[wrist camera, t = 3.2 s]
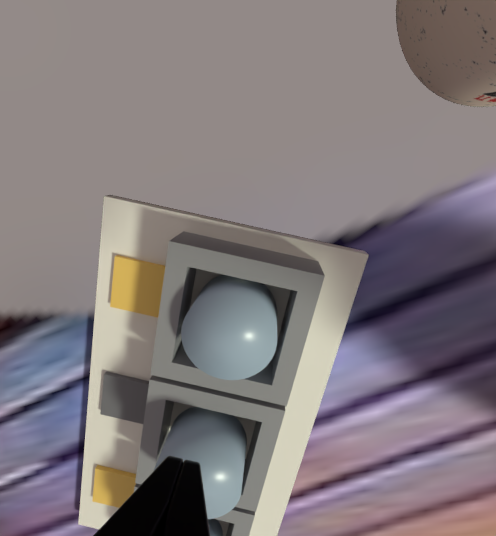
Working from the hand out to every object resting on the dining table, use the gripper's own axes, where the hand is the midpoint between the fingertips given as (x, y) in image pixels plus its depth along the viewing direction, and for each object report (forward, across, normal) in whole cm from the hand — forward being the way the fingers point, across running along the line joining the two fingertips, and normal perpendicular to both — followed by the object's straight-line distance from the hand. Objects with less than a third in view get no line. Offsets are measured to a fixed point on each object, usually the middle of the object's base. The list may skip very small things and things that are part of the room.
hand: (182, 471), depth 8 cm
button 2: (+9, 0, +8) cm, 12 cm away
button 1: (+10, 0, 0) cm, 10 cm away
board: (+11, +1, +8) cm, 14 cm away
